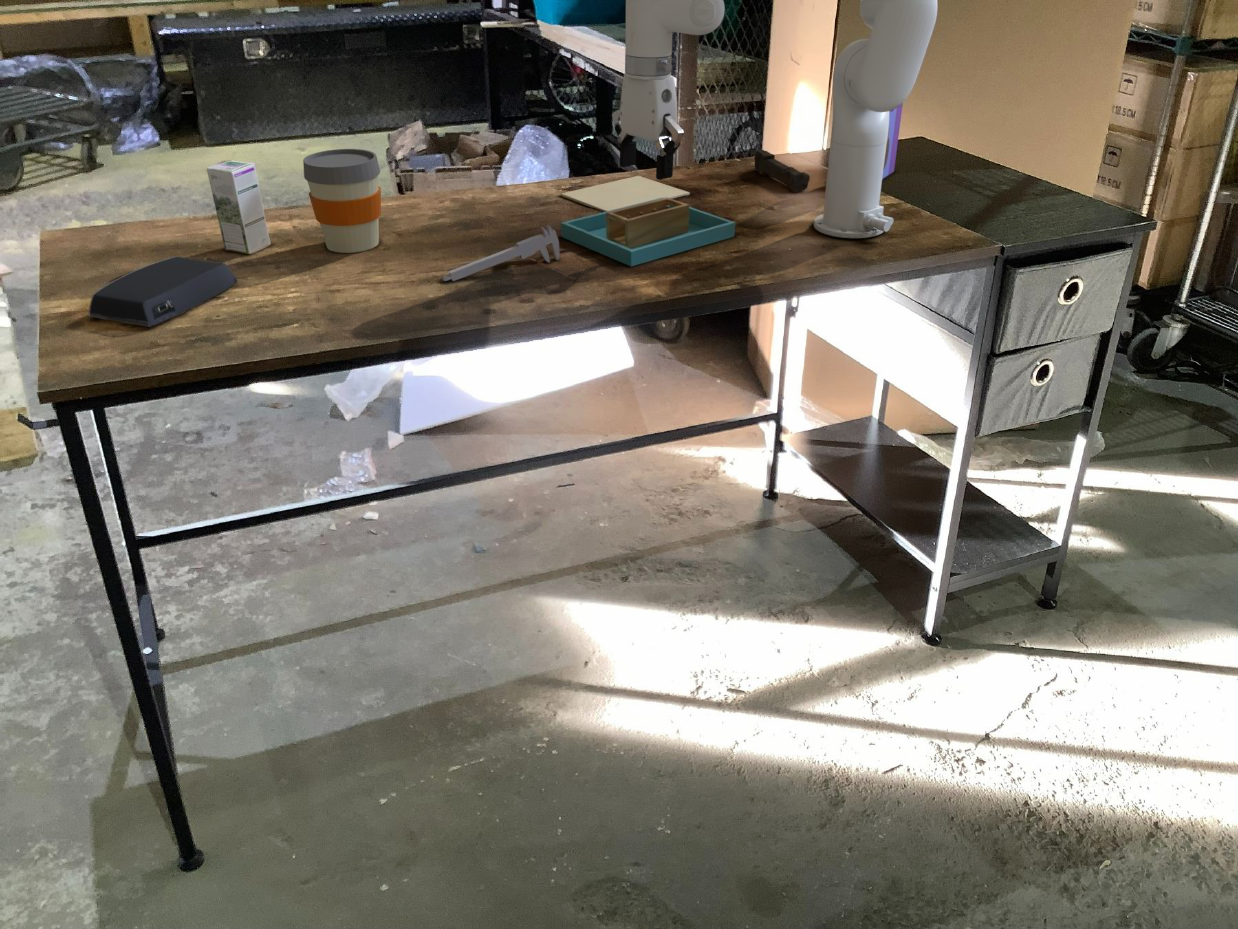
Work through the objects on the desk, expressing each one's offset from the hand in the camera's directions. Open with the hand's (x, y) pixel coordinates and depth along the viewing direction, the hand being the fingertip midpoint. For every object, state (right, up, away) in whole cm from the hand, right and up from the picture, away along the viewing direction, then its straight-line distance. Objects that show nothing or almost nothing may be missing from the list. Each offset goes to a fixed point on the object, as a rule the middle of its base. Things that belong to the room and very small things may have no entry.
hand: (645, 171), depth 174 cm
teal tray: (+1, -10, +6) cm, 12 cm away
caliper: (-24, -19, -8) cm, 31 cm away
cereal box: (+47, +8, +36) cm, 60 cm away
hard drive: (-74, -25, -18) cm, 80 cm away
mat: (-3, +3, +28) cm, 28 cm away
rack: (+1, -10, +6) cm, 11 cm away
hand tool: (+28, +8, +36) cm, 46 cm away
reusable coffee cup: (-51, -12, +4) cm, 53 cm away
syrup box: (-69, -13, +3) cm, 70 cm away
